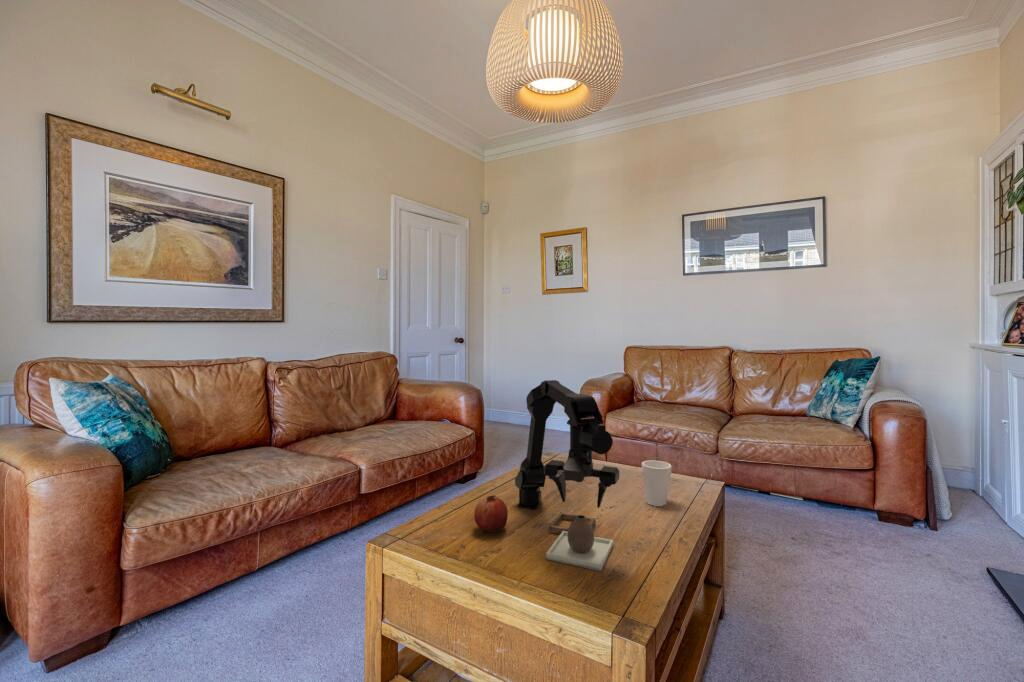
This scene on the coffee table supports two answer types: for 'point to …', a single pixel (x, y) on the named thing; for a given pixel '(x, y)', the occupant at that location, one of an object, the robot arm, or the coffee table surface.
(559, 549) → the tray
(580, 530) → the vase
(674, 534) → the coffee table surface
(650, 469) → the foam cup
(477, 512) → the fruit
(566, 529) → the holder
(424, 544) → the coffee table surface
